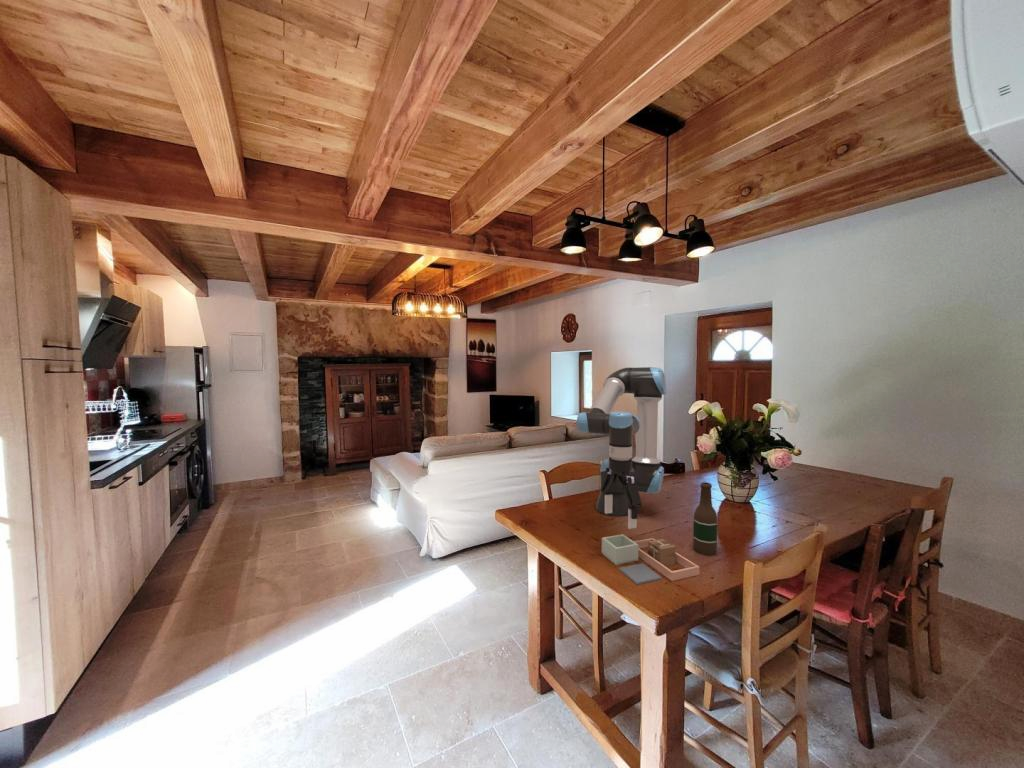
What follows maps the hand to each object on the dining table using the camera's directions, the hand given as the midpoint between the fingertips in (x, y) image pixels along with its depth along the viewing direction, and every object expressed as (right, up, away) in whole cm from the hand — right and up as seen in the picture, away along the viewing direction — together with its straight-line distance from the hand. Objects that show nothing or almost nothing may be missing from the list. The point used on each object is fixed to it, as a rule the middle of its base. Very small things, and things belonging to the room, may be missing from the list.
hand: (619, 520), depth 130 cm
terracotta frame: (+13, -13, -2) cm, 19 cm away
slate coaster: (+3, -13, -11) cm, 17 cm away
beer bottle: (+31, -13, +5) cm, 34 cm away
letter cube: (+13, -13, -2) cm, 19 cm away
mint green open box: (0, -13, 0) cm, 13 cm away
